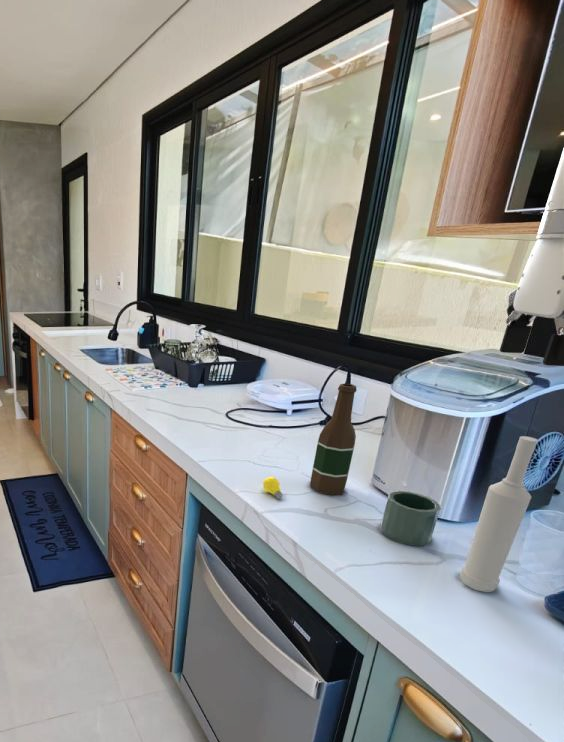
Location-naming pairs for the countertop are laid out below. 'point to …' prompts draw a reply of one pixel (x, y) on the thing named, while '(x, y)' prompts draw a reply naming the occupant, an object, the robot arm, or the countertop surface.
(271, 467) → the countertop surface
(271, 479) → the light bulb
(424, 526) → the holder
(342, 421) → the beer bottle
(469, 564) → the bottle
